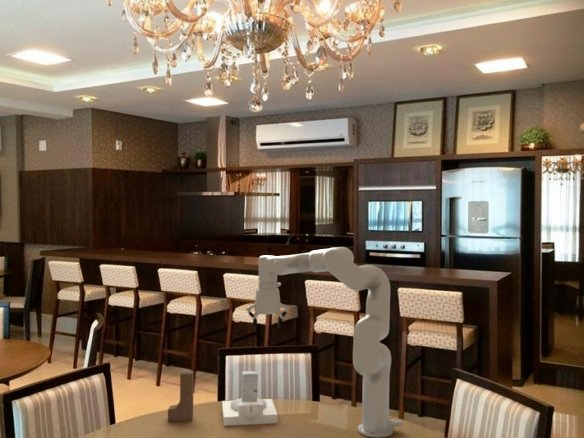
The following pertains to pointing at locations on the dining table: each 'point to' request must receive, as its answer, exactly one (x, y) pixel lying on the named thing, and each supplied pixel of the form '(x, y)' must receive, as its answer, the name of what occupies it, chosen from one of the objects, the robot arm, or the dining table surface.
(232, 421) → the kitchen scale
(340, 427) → the dining table surface
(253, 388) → the skincare box
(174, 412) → the wooden block
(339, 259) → the robot arm
